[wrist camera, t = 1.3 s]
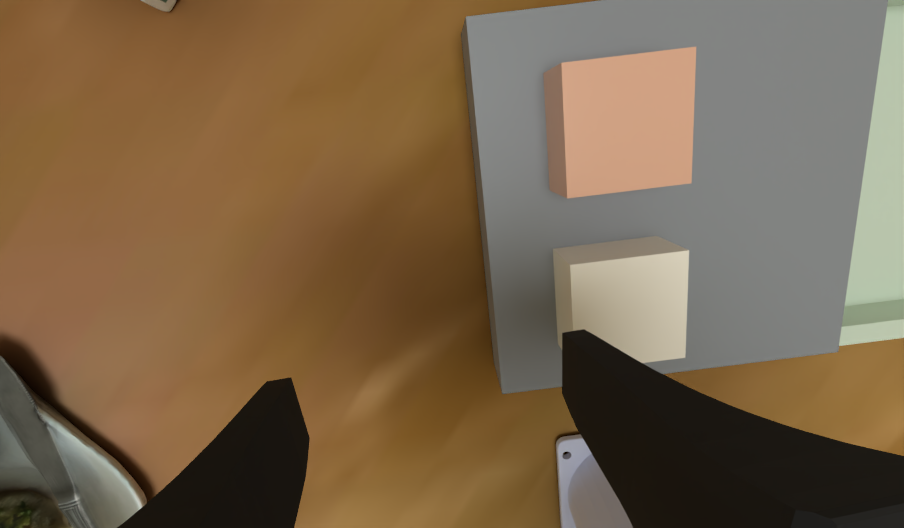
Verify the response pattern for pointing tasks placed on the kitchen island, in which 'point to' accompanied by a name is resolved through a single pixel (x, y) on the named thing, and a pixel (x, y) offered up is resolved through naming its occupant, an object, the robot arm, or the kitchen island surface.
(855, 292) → the tray
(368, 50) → the kitchen island surface
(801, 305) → the slate board
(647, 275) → the tile
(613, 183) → the peach square block
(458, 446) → the kitchen island surface
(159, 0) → the syrup box
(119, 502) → the salad plate
